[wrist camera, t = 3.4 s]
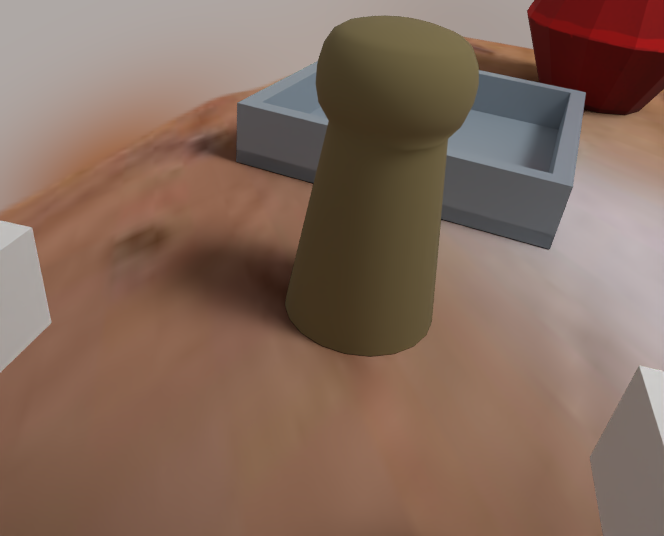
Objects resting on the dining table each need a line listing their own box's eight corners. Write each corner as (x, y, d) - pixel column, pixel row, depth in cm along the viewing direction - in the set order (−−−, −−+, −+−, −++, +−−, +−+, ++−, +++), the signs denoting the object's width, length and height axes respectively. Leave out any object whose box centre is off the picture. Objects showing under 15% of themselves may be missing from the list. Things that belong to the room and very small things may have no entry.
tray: (346, 87, 49) (351, 43, 47) (569, 138, 44) (585, 92, 42) (236, 161, 34) (237, 102, 32) (549, 249, 30) (572, 186, 28)
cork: (254, 293, 24) (266, 4, 18) (359, 250, 28) (399, -2, 22) (357, 380, 21) (415, 57, 14) (461, 317, 24) (543, 39, 18)
